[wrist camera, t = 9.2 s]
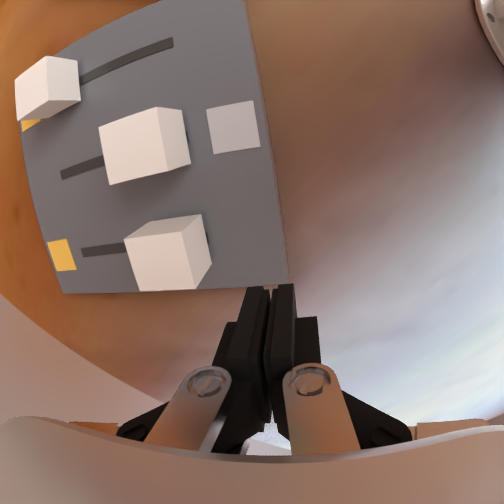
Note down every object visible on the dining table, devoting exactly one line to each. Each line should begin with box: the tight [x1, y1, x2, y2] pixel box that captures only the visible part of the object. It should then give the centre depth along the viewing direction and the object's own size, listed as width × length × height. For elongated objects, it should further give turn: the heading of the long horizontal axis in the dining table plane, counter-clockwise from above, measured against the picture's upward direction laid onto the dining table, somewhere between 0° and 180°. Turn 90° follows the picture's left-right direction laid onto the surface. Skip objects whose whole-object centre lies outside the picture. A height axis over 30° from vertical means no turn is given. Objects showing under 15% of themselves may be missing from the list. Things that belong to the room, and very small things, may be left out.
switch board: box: [19, 0, 289, 294], centre depth 20 cm, size 22×22×2 cm
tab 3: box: [124, 214, 212, 291], centre depth 19 cm, size 4×4×4 cm
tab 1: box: [15, 56, 81, 121], centre depth 15 cm, size 4×4×4 cm
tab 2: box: [98, 107, 191, 185], centre depth 16 cm, size 4×4×4 cm
